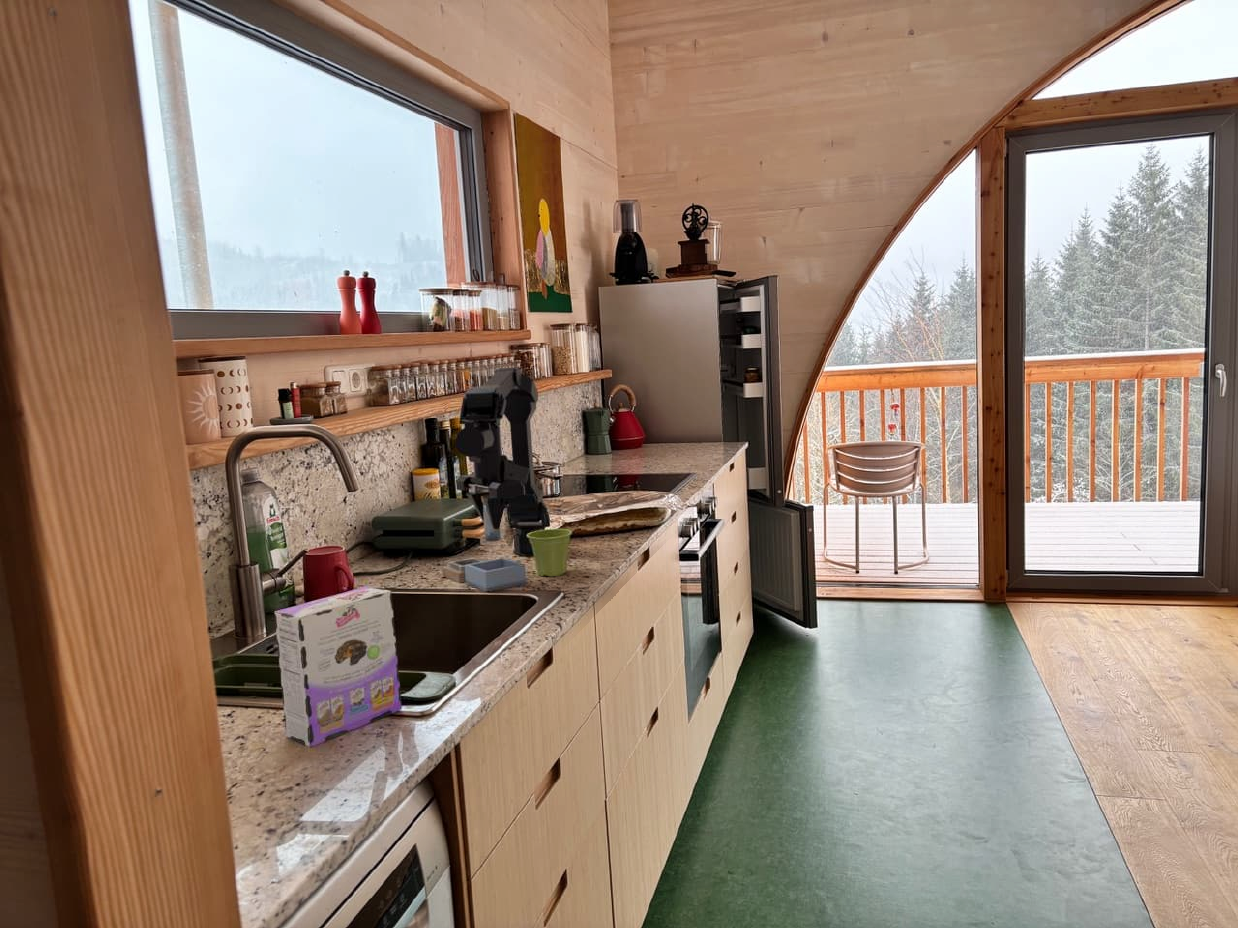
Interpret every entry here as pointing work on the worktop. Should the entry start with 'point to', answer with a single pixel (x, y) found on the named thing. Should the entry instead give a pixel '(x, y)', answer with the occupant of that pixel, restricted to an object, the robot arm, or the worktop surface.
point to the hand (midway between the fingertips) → (492, 527)
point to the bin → (495, 574)
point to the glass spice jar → (489, 526)
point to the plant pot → (550, 550)
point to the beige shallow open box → (458, 569)
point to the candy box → (337, 664)
